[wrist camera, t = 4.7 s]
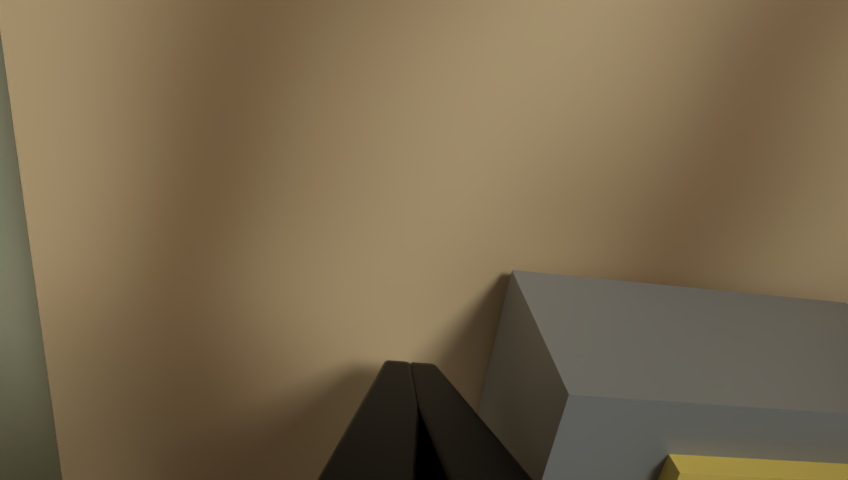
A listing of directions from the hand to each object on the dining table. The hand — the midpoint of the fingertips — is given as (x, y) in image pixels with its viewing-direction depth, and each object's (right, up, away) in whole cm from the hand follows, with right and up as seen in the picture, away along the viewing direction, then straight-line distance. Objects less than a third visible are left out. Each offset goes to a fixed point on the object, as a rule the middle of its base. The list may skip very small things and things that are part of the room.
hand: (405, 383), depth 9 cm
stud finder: (+4, 0, +1) cm, 5 cm away
